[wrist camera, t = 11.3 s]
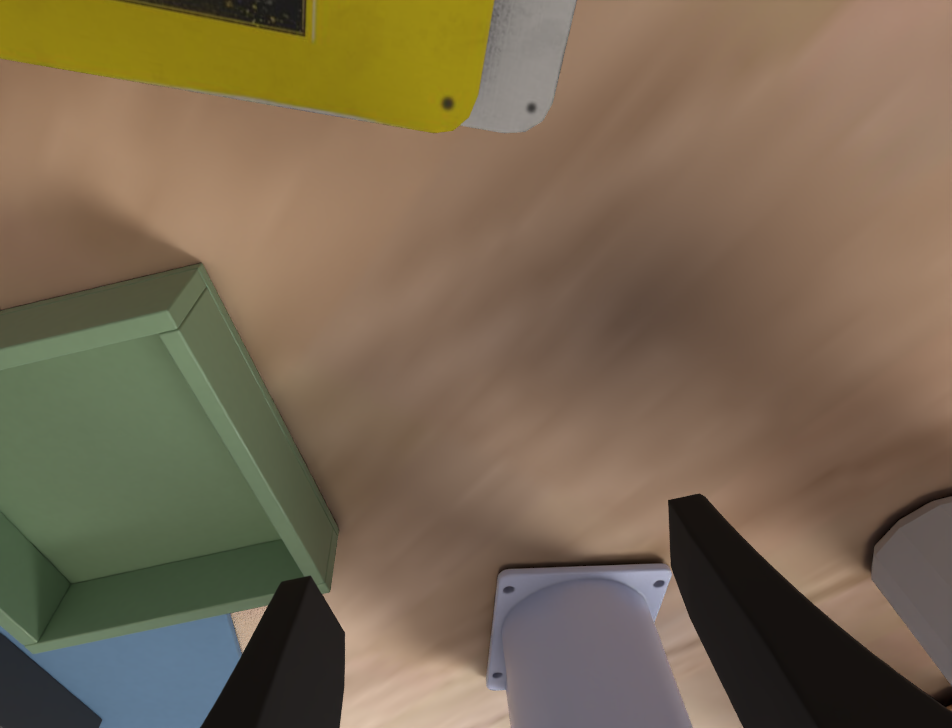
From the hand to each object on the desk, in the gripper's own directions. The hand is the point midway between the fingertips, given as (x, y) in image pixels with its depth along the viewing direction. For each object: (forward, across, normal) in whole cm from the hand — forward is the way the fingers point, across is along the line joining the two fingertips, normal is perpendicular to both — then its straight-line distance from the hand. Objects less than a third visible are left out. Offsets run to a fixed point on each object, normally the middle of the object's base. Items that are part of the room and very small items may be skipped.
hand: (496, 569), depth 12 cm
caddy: (+9, +13, +2) cm, 16 cm away
